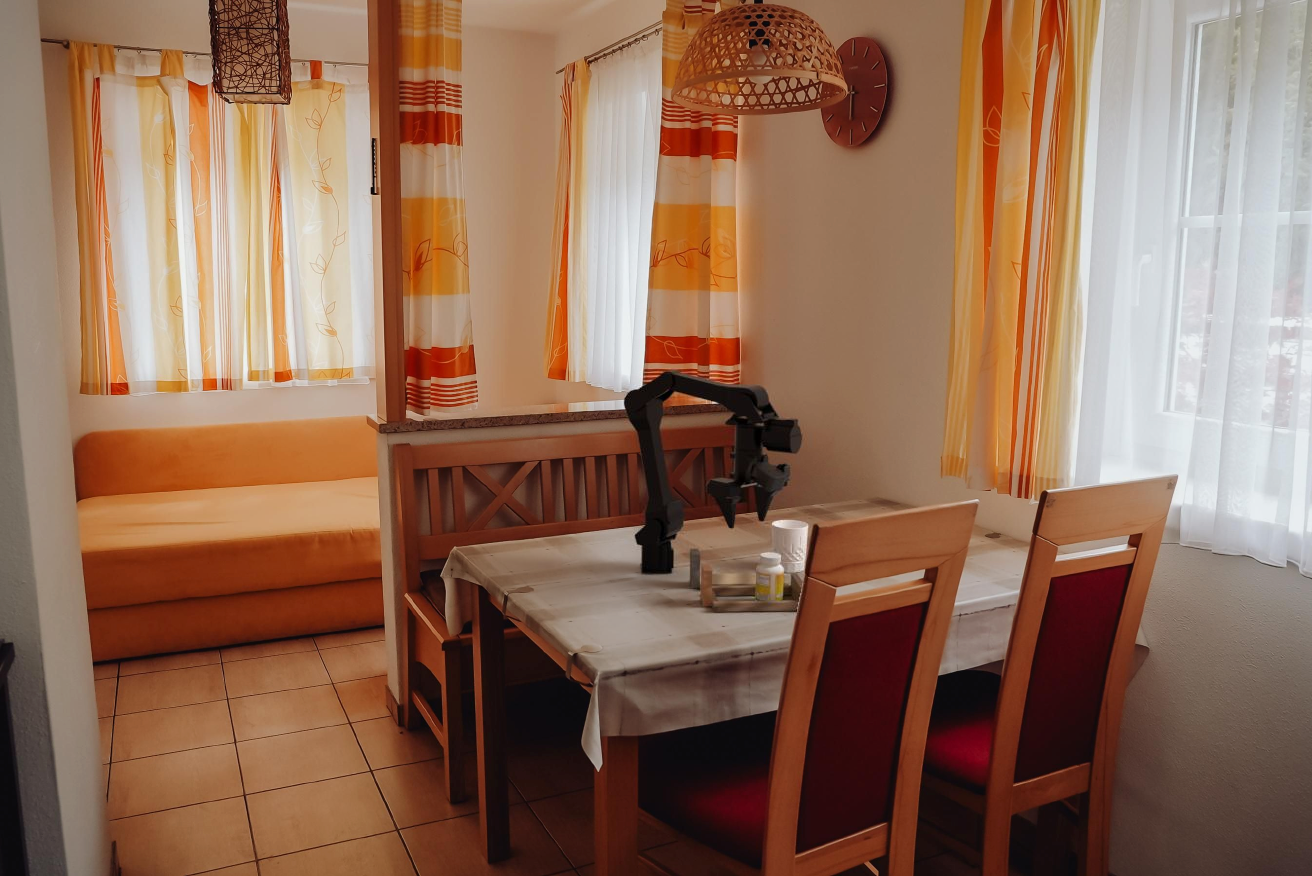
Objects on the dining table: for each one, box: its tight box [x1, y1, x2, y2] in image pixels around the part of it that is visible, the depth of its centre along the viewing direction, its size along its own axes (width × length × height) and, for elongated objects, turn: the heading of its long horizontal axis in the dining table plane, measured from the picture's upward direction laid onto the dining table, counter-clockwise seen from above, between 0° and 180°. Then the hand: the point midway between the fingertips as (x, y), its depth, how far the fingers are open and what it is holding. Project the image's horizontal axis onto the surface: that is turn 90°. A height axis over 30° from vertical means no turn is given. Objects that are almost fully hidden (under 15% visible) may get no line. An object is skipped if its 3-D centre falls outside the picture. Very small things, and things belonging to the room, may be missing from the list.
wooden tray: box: [700, 563, 804, 613], centre depth 189 cm, size 20×11×7 cm, turn 94°
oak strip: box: [689, 548, 790, 591], centre depth 201 cm, size 20×7×7 cm, turn 94°
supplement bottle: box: [754, 551, 785, 601], centre depth 189 cm, size 5×5×10 cm
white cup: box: [771, 519, 809, 574], centre depth 213 cm, size 8×8×10 cm
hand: (746, 524), depth 198 cm, fingers open, 9 cm apart
